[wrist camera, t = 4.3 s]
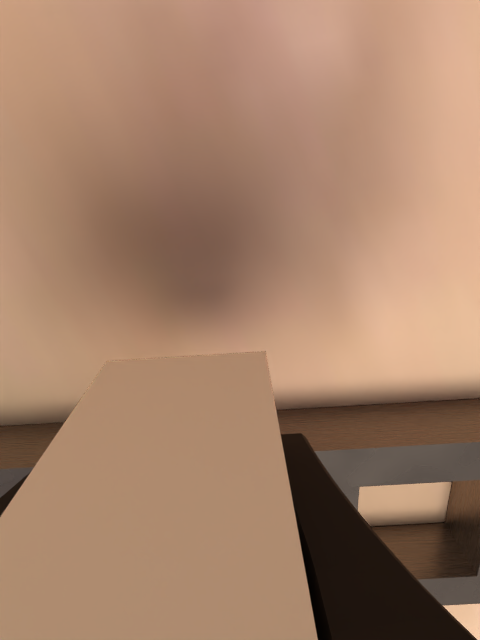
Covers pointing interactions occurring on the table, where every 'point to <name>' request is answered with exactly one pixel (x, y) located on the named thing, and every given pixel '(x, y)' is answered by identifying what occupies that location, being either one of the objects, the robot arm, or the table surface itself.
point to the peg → (159, 513)
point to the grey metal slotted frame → (367, 475)
